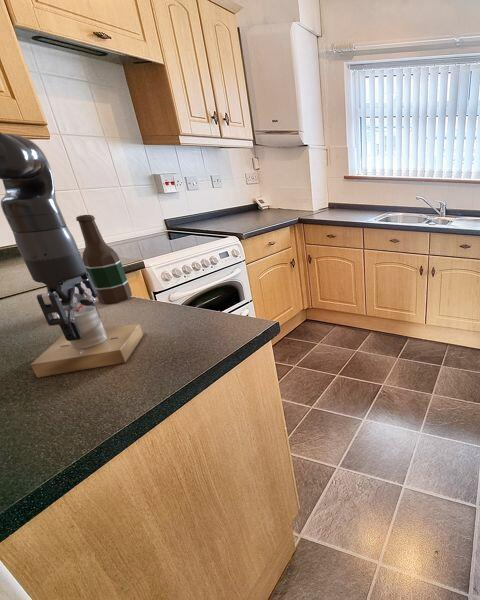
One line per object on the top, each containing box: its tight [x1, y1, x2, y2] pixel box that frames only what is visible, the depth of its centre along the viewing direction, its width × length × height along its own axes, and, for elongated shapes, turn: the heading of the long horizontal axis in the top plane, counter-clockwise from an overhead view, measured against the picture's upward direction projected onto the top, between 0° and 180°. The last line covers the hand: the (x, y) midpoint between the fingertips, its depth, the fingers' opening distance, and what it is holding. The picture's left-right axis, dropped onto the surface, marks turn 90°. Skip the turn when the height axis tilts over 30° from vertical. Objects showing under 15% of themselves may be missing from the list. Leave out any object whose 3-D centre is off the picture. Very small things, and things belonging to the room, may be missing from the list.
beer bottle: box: [75, 214, 133, 305], centre depth 93 cm, size 8×8×24 cm
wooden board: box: [30, 323, 144, 378], centre depth 70 cm, size 14×12×3 cm
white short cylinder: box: [65, 305, 107, 349], centre depth 68 cm, size 6×6×7 cm
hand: (85, 329), depth 69 cm, fingers open, 8 cm apart
